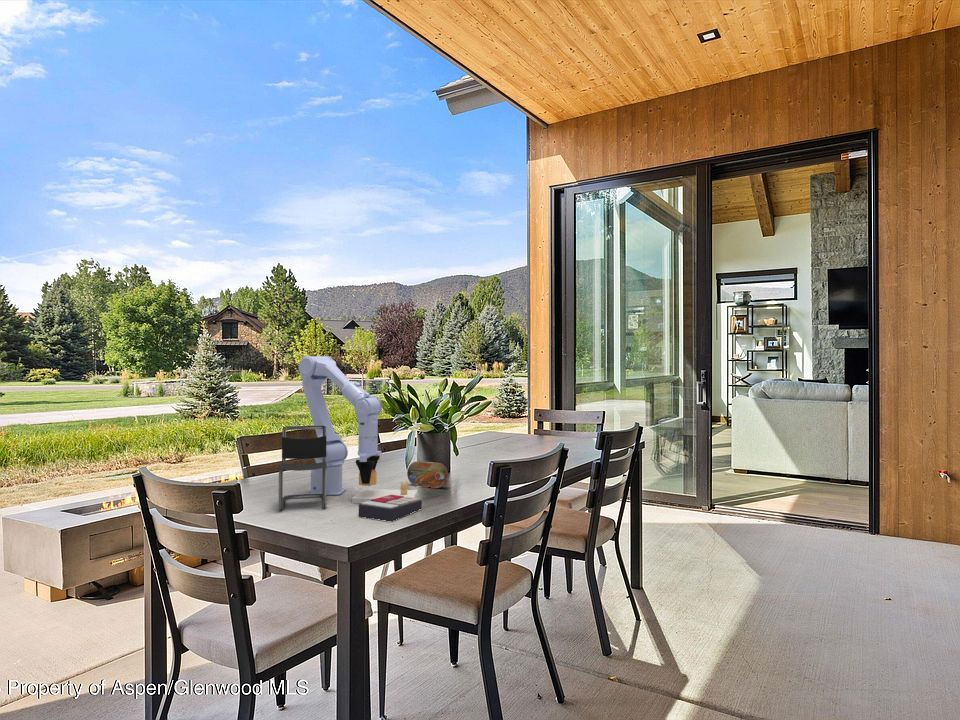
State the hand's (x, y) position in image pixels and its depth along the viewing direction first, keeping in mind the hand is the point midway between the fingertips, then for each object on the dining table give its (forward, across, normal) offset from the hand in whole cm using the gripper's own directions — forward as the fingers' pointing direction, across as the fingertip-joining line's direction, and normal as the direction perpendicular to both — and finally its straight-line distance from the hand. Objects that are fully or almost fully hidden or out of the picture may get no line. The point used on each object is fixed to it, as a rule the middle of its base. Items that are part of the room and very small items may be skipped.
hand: (367, 481), depth 183 cm
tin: (+6, +18, -17) cm, 25 cm away
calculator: (+6, -16, -10) cm, 20 cm away
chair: (+6, -7, +17) cm, 20 cm away
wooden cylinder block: (+1, 0, 0) cm, 1 cm away
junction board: (+5, 0, -6) cm, 8 cm away
